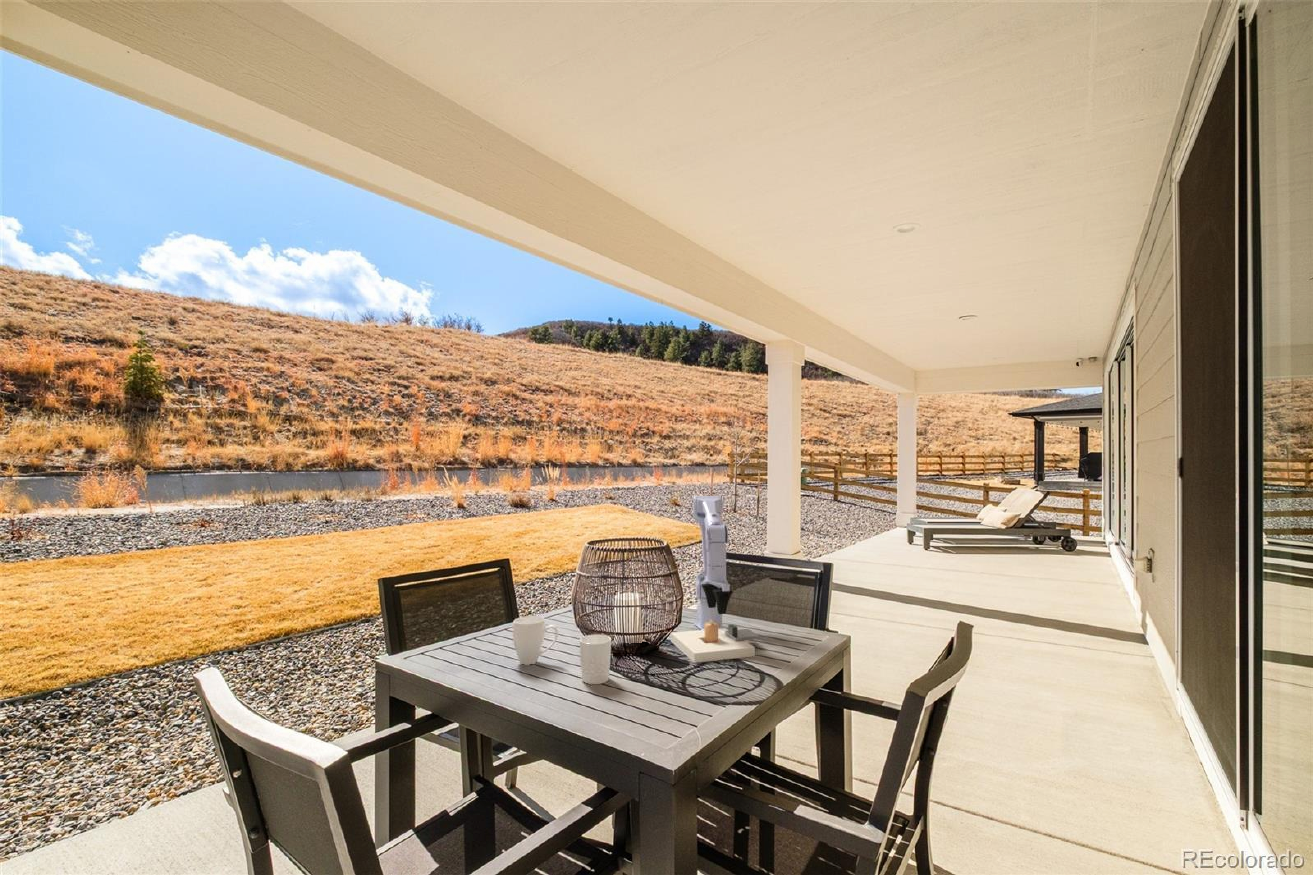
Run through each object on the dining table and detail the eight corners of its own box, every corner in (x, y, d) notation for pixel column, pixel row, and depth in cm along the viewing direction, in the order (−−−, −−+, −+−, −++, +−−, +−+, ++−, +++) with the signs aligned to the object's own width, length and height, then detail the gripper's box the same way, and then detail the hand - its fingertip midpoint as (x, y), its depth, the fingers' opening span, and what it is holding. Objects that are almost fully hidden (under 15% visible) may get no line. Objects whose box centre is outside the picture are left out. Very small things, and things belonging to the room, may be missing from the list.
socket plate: (670, 641, 179) (670, 632, 179) (725, 635, 184) (725, 627, 185) (694, 662, 160) (694, 653, 160) (754, 656, 165) (754, 647, 165)
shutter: (725, 633, 178) (724, 622, 178) (748, 631, 180) (747, 620, 180) (735, 641, 171) (735, 629, 171) (759, 638, 173) (759, 627, 173)
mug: (509, 668, 156) (509, 624, 156) (516, 657, 164) (517, 615, 165) (555, 667, 156) (555, 624, 156) (559, 657, 164) (560, 615, 165)
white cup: (617, 677, 149) (617, 637, 150) (598, 687, 142) (599, 645, 143) (592, 671, 153) (592, 632, 154) (572, 681, 146) (573, 640, 147)
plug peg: (703, 646, 174) (703, 618, 174) (716, 646, 174) (716, 618, 175) (706, 651, 170) (706, 622, 170) (719, 650, 170) (719, 621, 171)
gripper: (695, 561, 185) (695, 605, 184) (713, 570, 171) (713, 617, 170) (716, 560, 187) (716, 604, 186) (736, 568, 173) (736, 615, 173)
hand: (716, 610), depth 179 cm, fingers open, 7 cm apart
